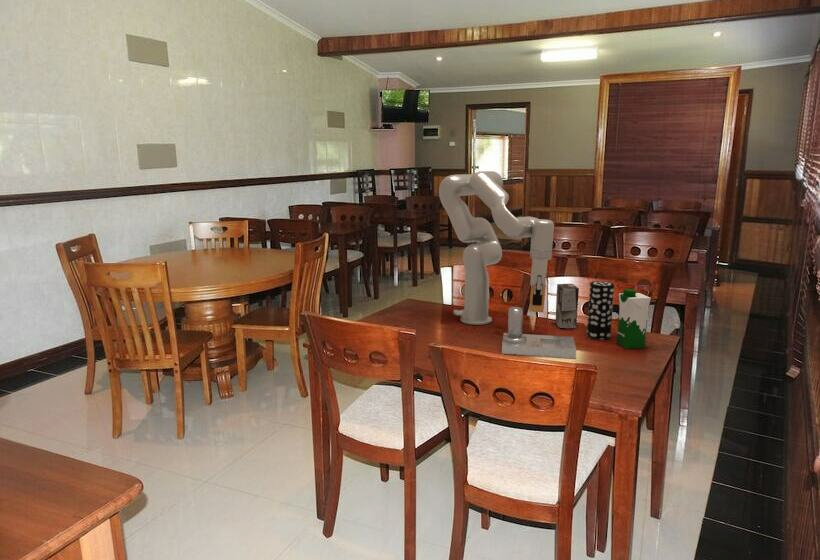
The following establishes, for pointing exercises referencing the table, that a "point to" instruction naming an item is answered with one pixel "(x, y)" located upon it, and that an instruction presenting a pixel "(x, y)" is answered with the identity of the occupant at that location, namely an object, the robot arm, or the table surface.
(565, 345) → the grey base with post
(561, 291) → the coffee box
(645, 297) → the milk carton
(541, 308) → the tan upright block
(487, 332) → the table surface
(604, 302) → the white-spotted black cylinder
